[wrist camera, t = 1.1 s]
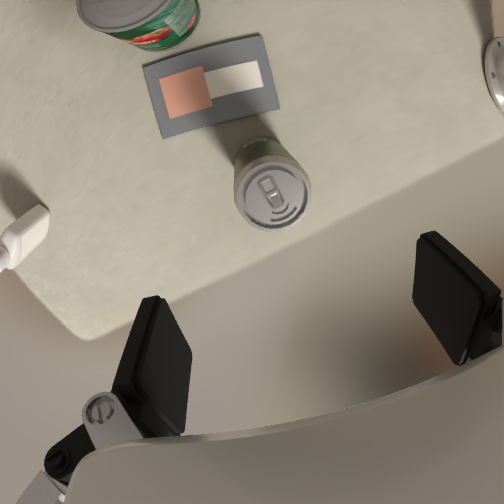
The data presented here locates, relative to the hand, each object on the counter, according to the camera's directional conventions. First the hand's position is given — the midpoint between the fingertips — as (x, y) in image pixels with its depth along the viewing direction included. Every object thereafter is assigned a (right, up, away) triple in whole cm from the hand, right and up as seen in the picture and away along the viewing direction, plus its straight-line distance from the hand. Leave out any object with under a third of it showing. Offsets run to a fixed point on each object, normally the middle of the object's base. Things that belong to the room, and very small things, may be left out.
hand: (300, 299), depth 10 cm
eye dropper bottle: (-29, +5, +21) cm, 37 cm away
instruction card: (-6, +18, +16) cm, 24 cm away
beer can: (-1, +11, +20) cm, 23 cm away
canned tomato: (-11, +25, +12) cm, 30 cm away
